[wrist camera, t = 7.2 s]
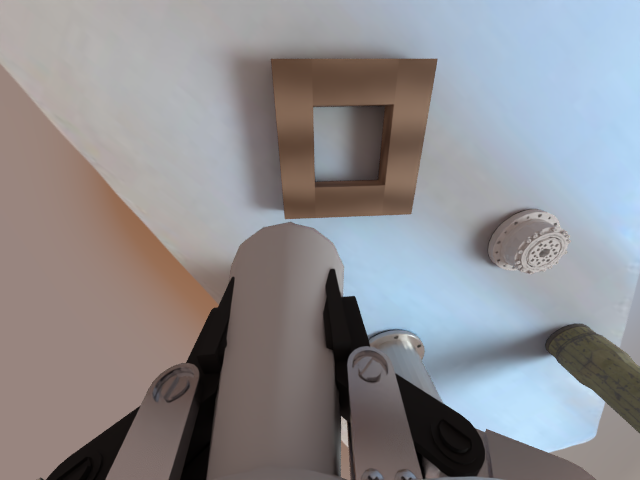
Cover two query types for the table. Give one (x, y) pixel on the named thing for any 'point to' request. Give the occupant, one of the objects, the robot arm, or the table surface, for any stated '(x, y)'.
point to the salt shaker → (278, 363)
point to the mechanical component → (528, 242)
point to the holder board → (351, 90)
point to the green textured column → (599, 368)
